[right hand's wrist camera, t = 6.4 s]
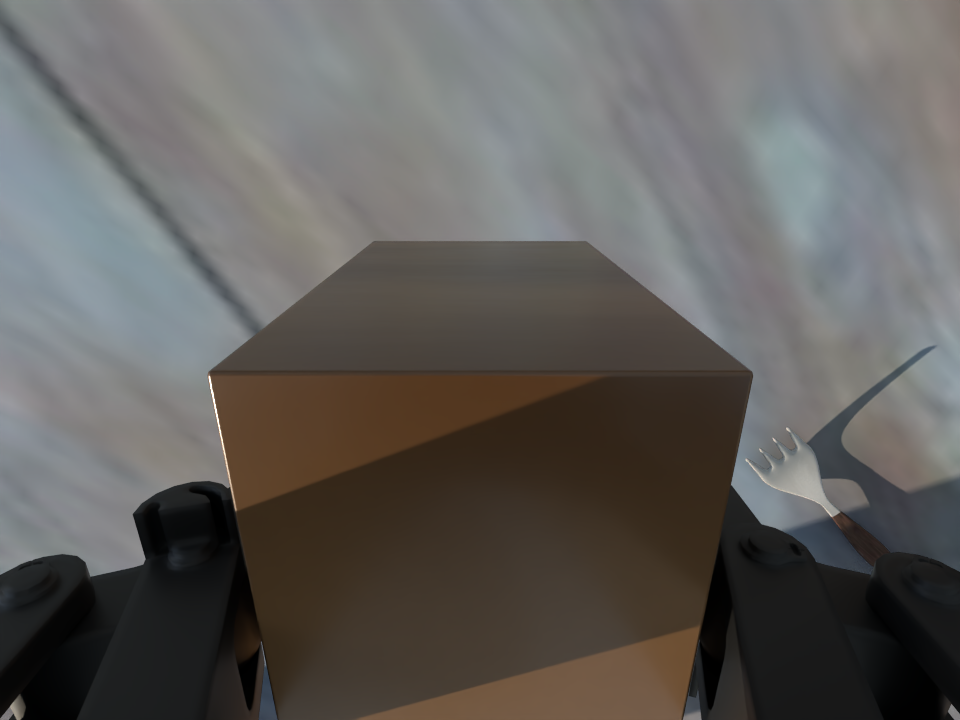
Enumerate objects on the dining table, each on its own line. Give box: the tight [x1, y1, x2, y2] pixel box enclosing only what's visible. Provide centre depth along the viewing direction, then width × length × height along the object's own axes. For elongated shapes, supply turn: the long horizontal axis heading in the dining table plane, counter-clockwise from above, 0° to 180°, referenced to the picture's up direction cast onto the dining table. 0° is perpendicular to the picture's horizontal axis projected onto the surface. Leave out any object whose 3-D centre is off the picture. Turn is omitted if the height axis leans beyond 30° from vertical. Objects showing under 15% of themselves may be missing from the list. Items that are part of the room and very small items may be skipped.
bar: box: [208, 241, 753, 720], centre depth 13 cm, size 23×6×9 cm, turn 0°
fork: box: [746, 427, 890, 567], centre depth 25 cm, size 3×16×2 cm, turn 47°
